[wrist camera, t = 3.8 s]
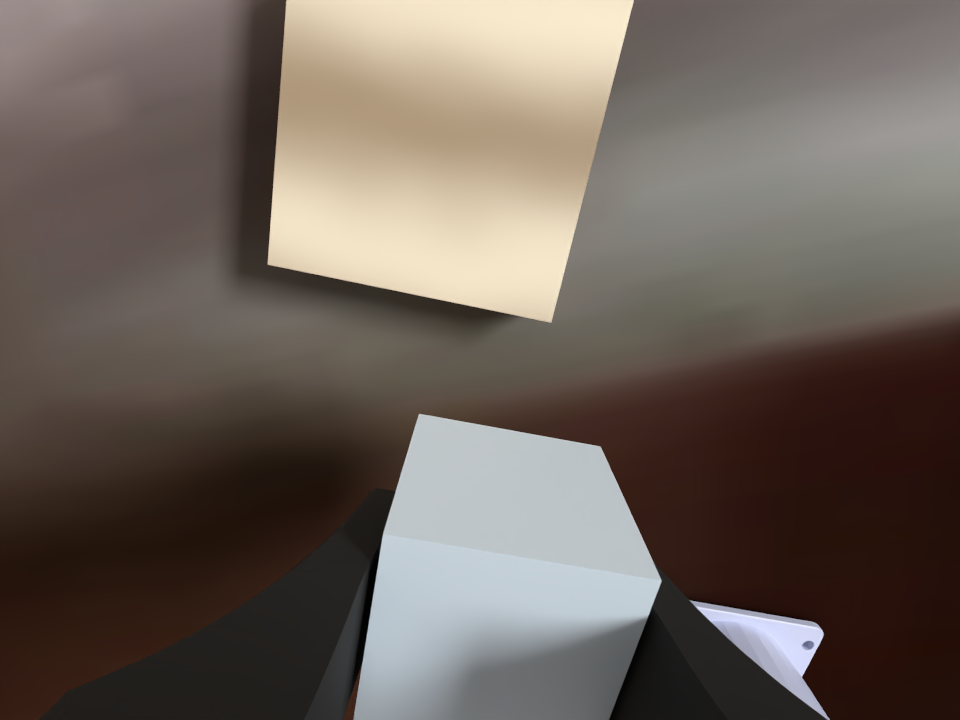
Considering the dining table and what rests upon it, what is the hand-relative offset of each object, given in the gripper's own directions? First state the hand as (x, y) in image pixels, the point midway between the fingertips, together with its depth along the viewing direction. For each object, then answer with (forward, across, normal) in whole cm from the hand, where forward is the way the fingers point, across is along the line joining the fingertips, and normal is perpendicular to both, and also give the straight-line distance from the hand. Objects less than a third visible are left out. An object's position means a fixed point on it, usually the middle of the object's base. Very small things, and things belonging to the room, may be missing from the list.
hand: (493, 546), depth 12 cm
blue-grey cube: (+2, 0, 0) cm, 2 cm away
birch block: (+9, +3, -9) cm, 13 cm away
